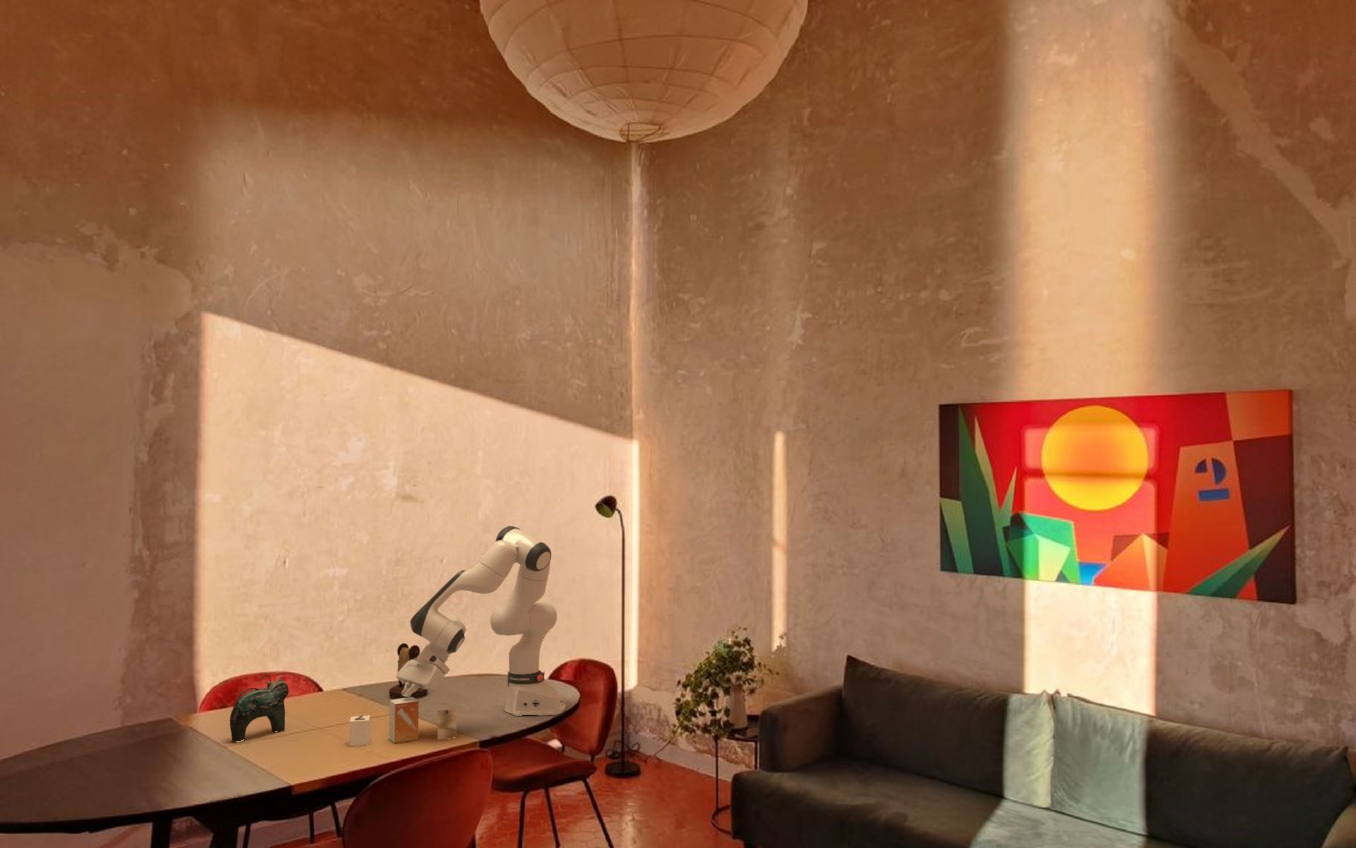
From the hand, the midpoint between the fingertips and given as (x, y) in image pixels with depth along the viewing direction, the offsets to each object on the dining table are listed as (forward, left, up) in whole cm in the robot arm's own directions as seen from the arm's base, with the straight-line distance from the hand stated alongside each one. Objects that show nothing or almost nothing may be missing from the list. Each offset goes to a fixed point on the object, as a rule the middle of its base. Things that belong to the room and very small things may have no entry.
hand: (404, 695), depth 321 cm
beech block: (-13, -5, -15) cm, 20 cm away
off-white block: (+13, +5, -15) cm, 20 cm away
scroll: (+21, -56, -15) cm, 62 cm away
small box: (0, 0, -15) cm, 15 cm away
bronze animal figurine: (+50, +1, -15) cm, 53 cm away
